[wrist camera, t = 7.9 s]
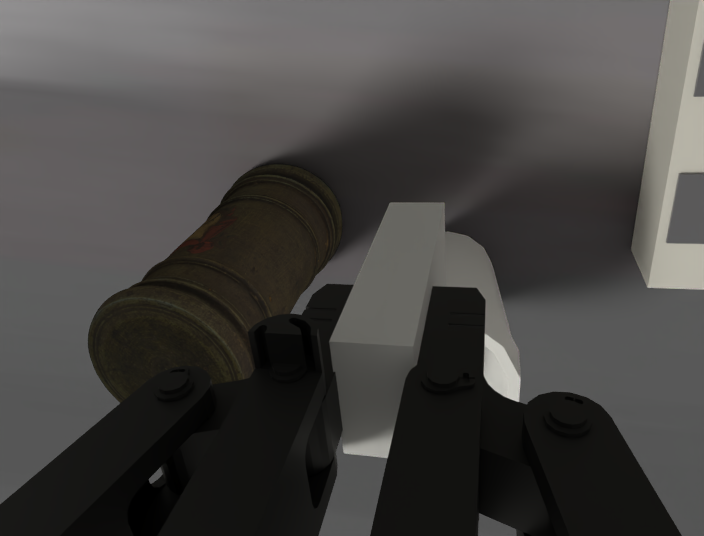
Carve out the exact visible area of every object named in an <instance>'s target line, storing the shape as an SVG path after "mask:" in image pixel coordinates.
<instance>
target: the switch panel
mask: <svg viewBox="0 0 704 536" xmlns="http://www.w3.org/2000/svg"><path fill="white" fill-rule="evenodd" d="M631 251H632V253H633V256H634V258H635V260H636V262H637V265H638V267H639V269H640V271H641V274H642V276H643V278H644V280H645V283H646V285H647V287H648V288H673V289H703V290H704V0H670V4H669V11H668V17H667V23H666V30H665V36H664V42H663V49H662V55H661V62H660V68H659V74H658V81H657V87H656V93H655V100H654V106H653V112H652V119H651V125H650V131H649V138H648V144H647V150H646V157H645V163H644V170H643V176H642V182H641V189H640V195H639V201H638V208H637V214H636V220H635V227H634V233H633V239H632V246H631Z"/></svg>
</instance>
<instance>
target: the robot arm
mask: <svg viewBox="0 0 704 536" xmlns="http://www.w3.org/2000/svg"><path fill="white" fill-rule="evenodd" d="M485 308H486V300H485V298H484V297H483V296H482V294H481V293H480V292H479V290H478V289H477V288H471V287H446V266H445V202H390V203H389V206H388V208H387V210H386V213H385V215H384V217H383V219H382V222H381V224H380V226H379V229H378V231H377V233H376V235H375V238H374V240H373V242H372V245H371V247H370V249H369V251H368V254H367V256H366V258H365V261H364V263H363V265H362V267H361V270H360V272H359V274H358V277H357V279H356V281H355V283H354V285H342V284H326V285H325V286H324V287H322V288H321V289H320V290H318V291H317V292H316V293H314V294H313V295H312V297H311V299H310V301H309V303H308V304H307V306H306V310H304V312H303V314H302V315H298V314H280V315H276V316H272V317H269V318H266V319H264V320H262V321H260V322H258V323H256V324H255V325H254V326H253V327H252V328H251V329H250V330H249V331H248V336H249V341H250V346H251V350H252V355H253V360H254V365H255V369H254V371H253V373H252V374H251V376H250V378H247V379H243V380H238V381H232V382H225V383H218V384H212V381H211V378H210V376H209V374H208V373H207V371H205V370H203V369H201V368H199V367H195V366H180V367H174V368H171V369H168V370H165V371H163V372H160V373H158V374H157V375H155V376H154V377H152V378H151V379H149V380H148V381H146V382H145V383H144V384H143V385H142V386H140V387H139V388H138V389H137V390H136V391H135V392H133V393H132V394H131V395H130V396H129V397H127V398H126V399H125V400H124V401H123V402H121V403H120V404H119V405H118V406H117V407H116V408H114V409H113V410H112V411H111V412H110V413H108V414H107V415H106V416H105V417H104V418H102V419H101V420H100V421H99V422H98V423H97V424H95V425H94V426H93V427H92V428H91V429H89V430H88V431H87V432H86V433H85V434H83V435H82V436H81V437H80V438H79V439H78V440H76V441H75V442H74V443H73V444H72V445H70V446H69V447H68V448H67V449H66V450H64V451H63V452H62V453H61V454H60V455H59V456H57V457H56V458H55V459H54V460H53V461H51V462H50V463H49V464H48V465H47V466H45V467H44V468H43V469H42V470H41V471H40V472H38V473H37V474H36V475H35V476H34V477H32V478H31V479H30V480H29V481H28V482H26V483H25V484H24V485H23V486H22V487H21V488H19V489H18V490H17V491H16V492H15V493H13V494H12V495H11V496H10V497H9V498H7V499H6V500H5V501H4V502H3V503H2V504H0V536H318V535H319V532H320V528H321V525H322V522H323V519H324V515H325V512H326V509H327V506H328V502H329V499H330V496H331V493H332V489H333V486H334V483H335V480H336V476H337V458H336V449H337V446H338V443H339V440H340V437H341V436H342V443H343V451H344V453H346V454H355V455H365V456H374V457H383V458H388V459H387V463H386V468H385V472H384V477H383V481H382V486H381V490H380V495H379V499H378V503H377V508H376V512H375V517H374V521H373V526H372V530H371V535H370V536H478V520H479V513H480V514H483V515H485V516H487V517H490V518H492V519H494V520H496V521H499V522H501V523H503V524H506V525H508V526H510V527H513V528H515V529H516V531H517V536H682V535H681V534H680V532H679V530H678V529H677V527H676V525H675V524H674V522H673V520H672V519H671V517H670V515H669V514H668V512H667V510H666V509H665V507H664V505H663V504H662V502H661V500H660V498H659V497H658V495H657V493H656V492H655V490H654V488H653V487H652V485H651V483H650V482H649V480H648V478H647V477H646V475H645V473H644V472H643V470H642V468H641V467H640V465H639V463H638V462H637V460H636V458H635V457H634V455H633V453H632V452H631V450H630V448H629V446H628V445H627V443H626V441H625V440H624V438H623V436H622V435H621V433H620V431H619V430H618V428H617V426H616V425H615V423H614V421H613V420H612V418H611V416H610V415H609V414H608V413H607V412H606V411H605V410H604V409H603V408H602V406H600V405H599V404H597V403H595V402H594V401H592V400H590V399H589V398H587V397H584V396H580V395H577V394H573V393H569V392H550V393H546V394H541V395H538V396H537V397H535V398H534V399H532V400H531V401H529V402H528V404H527V405H526V404H523V403H520V402H517V401H514V400H511V399H509V398H506V397H504V396H503V395H501V394H499V393H498V392H496V391H495V390H494V389H493V388H492V387H491V386H490V385H489V384H488V383H487V381H486V379H485V377H484V348H485ZM160 467H161V470H162V473H163V475H162V476H161V477H160V478H159V479H158V480H156V481H155V482H154V483H152V484H150V483H149V480H148V479H149V478H150V477H151V476H152V475H153V474H154V473H155V472H156V471H157V470H158V469H159V468H160Z"/></svg>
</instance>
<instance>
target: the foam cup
mask: <svg viewBox="0 0 704 536" xmlns="http://www.w3.org/2000/svg"><path fill="white" fill-rule="evenodd" d="M445 266H446V287H471V288H477V289H478V290H479V292H480V293H481V294H482V296H483V297H484V298H485V300H486V308H485V348H484V377H485V379H486V381H487V383H488V384H489V385H490V386H491V387H492V388H493V389H494V390H495V391H496V392H498V393H499V394H501V395H503V396H504V397H506V398H509V399H511V400H514V401H517V402H519V392H520V379H521V378H520V358H519V350H518V348H517V346H516V344H515V342H514V340H513V338H512V336H511V333H510V329H509V325H508V321H507V318H506V314H505V310H504V306H503V302H502V299H501V295H500V291H499V287H498V283H497V280H496V276H495V272H494V268H493V266H492V263H491V261H490V259H489V257H488V255H487V253H486V251H485V249H484V247H482V246H481V245H480V244H478V243H477V242H476V241H474V240H473V239H472V238H470V237H469V236H467V235H462V234H458V233H454V232H449V231H447V232H445Z"/></svg>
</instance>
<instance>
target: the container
mask: <svg viewBox="0 0 704 536" xmlns="http://www.w3.org/2000/svg"><path fill="white" fill-rule="evenodd" d="M341 234H342V216H341V210H340V207H339V204H338V201H337V199H336V197H335V195H334V194H333V192H332V191H331V190H330V188H329V187H328V186H327V185H326V184H325V183H324V182H323V181H322V180H320V179H319V178H318V177H316V176H315V175H313V174H312V173H310V172H308V171H306V170H304V169H301V168H299V167H295V166H291V165H284V164H272V165H265V166H261V167H258V168H255V169H253V170H250V171H249V172H247V173H245V174H244V175H243V176H241V177H240V178H239V179H238V180H237V181H236V182H235V183H234V184H233V186H232V187H231V189H230V190H229V191H228V192H227V193H226V194H225V196H224V197H223V199H222V201H221V203H220V205H219V206H218V207H217V208H216V209H215V210H214V211H213V212H212V213H211V214H210V216H209V217H208V219H207V221H206V222H205V223H204V224H203V225H202V226H201V227H199V228H198V229H197V230H196V231H195V232H194V233H193V234H192V235H191V236H190V237H189V238H188V239H186V240H185V241H184V242H183V243H182V244H181V245H180V246H179V247H178V248H177V249H176V250H175V251H174V252H173V253H172V254H171V255H170V256H169V257H168V258H167V259H165V260H164V261H162V262H160V263H158V264H157V265H155V266H154V267H152V268H151V269H150V270H149V271H148V272H147V274H146V275H145V276H144V278H143V279H142V281H141V282H139V283H137V284H134V285H133V286H131V287H130V288H128V289H125V290H122V291H120V292H118V293H116V294H114V295H113V296H111V297H110V298H108V299H107V300H106V301H105V302H104V303H103V304H102V305H101V307H100V308H99V309H98V311H97V312H96V314H95V316H94V318H93V320H92V323H91V326H90V329H89V334H88V349H89V354H90V358H91V361H92V363H93V366H94V369H95V371H96V373H97V375H98V376H99V378H100V380H101V381H102V383H103V384H104V386H105V387H106V388H107V389H108V391H109V392H110V393H111V394H112V395H113V396H114V397H115V398H116V399H117V400H118V401H119V402H120V403H121V402H123V401H124V400H125V399H126V398H127V397H129V396H130V395H131V394H132V393H133V392H135V391H136V390H137V389H138V388H139V387H140V386H142V385H143V384H144V383H145V382H146V381H148V380H149V379H151V378H152V377H154V376H155V375H157V374H158V373H160V372H163V371H165V370H168V369H171V368H174V367H180V366H195V367H199V368H201V369H203V370H205V371H207V373H208V374H209V376H210V378H211V381H212V384H218V383H225V382H232V381H238V380H243V379H247V378H250V376H251V374H252V373H253V371H254V369H255V365H254V360H253V355H252V350H251V346H250V341H249V336H248V331H249V330H250V329H251V328H252V327H253V326H254V325H255V324H256V323H258V322H260V321H262V320H264V319H266V318H269V317H272V316H276V315H280V314H290V312H291V310H292V309H293V307H294V305H295V304H296V302H297V300H298V299H299V297H300V295H301V294H302V293H303V292H304V291H305V290H306V289H307V288H308V287H309V286H310V284H311V283H312V281H313V279H314V278H315V276H316V275H317V274H318V273H319V272H320V271H321V270H322V269H323V268H324V267H325V266H326V264H327V263H328V261H329V260H330V259H331V258H332V256H333V255H334V253H335V252H336V250H337V248H338V245H339V242H340V239H341Z"/></svg>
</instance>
